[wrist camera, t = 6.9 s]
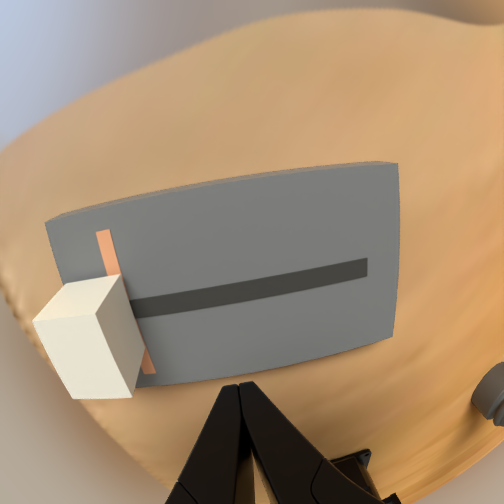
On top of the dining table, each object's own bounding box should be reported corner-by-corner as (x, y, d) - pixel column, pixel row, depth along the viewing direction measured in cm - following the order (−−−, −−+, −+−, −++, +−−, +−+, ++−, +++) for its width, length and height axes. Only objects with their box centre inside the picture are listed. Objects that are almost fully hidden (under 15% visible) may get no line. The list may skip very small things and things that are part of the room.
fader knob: (145, 347, 14) (132, 397, 11) (93, 352, 14) (73, 398, 10) (120, 273, 13) (95, 313, 9) (65, 283, 12) (32, 321, 9)
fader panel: (377, 320, 18) (393, 337, 16) (116, 368, 17) (108, 389, 15) (377, 161, 15) (398, 163, 13) (62, 213, 14) (44, 222, 12)
